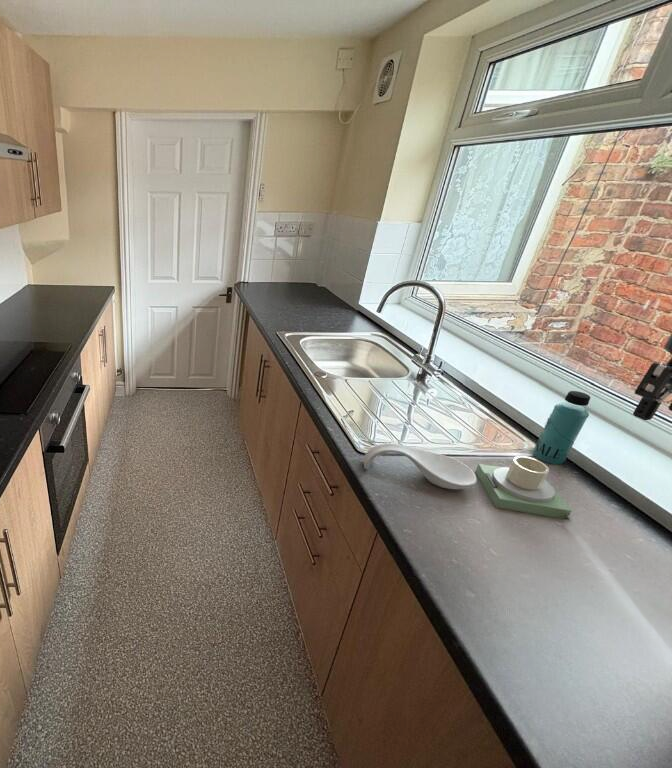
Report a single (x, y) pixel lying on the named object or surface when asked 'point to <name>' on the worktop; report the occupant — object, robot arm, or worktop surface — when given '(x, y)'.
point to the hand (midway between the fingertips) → (659, 414)
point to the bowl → (527, 472)
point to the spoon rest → (429, 465)
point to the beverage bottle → (562, 428)
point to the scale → (521, 494)
